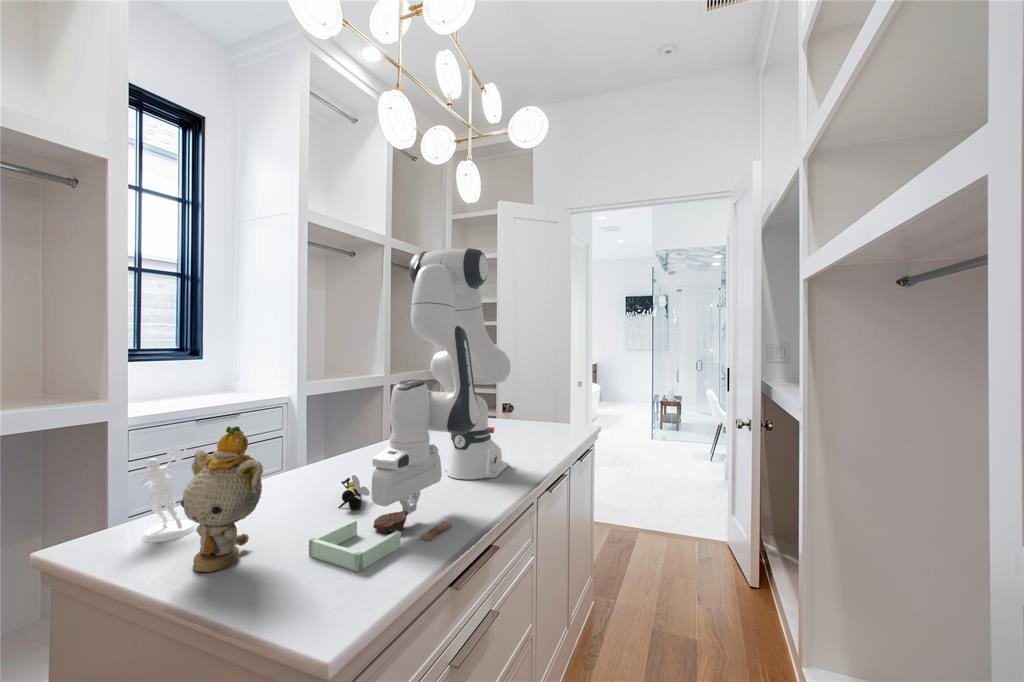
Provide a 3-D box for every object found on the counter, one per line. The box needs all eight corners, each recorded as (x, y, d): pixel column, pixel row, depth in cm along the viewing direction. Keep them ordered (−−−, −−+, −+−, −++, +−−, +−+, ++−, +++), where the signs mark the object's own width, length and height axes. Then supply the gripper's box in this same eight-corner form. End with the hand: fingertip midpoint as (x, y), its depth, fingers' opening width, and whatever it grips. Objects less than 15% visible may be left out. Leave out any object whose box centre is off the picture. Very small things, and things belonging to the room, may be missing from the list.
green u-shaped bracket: (353, 533, 93) (353, 519, 93) (400, 546, 88) (400, 531, 88) (308, 555, 84) (308, 540, 84) (358, 572, 78) (358, 555, 78)
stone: (405, 534, 93) (405, 519, 93) (370, 537, 92) (370, 522, 92) (408, 522, 99) (408, 508, 99) (375, 524, 98) (375, 510, 98)
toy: (329, 485, 116) (327, 507, 102) (353, 466, 118) (354, 484, 104) (346, 503, 118) (346, 527, 104) (369, 483, 120) (372, 504, 106)
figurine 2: (216, 590, 72) (217, 438, 72) (164, 564, 80) (165, 428, 81) (281, 560, 82) (282, 427, 82) (229, 540, 90) (230, 419, 91)
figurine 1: (184, 519, 101) (185, 441, 101) (207, 528, 96) (208, 446, 96) (131, 536, 92) (132, 450, 92) (153, 546, 87) (154, 456, 88)
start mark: (443, 525, 98) (443, 521, 98) (451, 526, 97) (451, 523, 97) (420, 539, 91) (421, 535, 91) (428, 541, 90) (428, 537, 90)
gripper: (427, 441, 110) (427, 496, 110) (366, 460, 92) (366, 526, 92) (447, 444, 108) (447, 500, 107) (389, 464, 89) (389, 532, 89)
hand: (409, 512), depth 100 cm, fingers closed
